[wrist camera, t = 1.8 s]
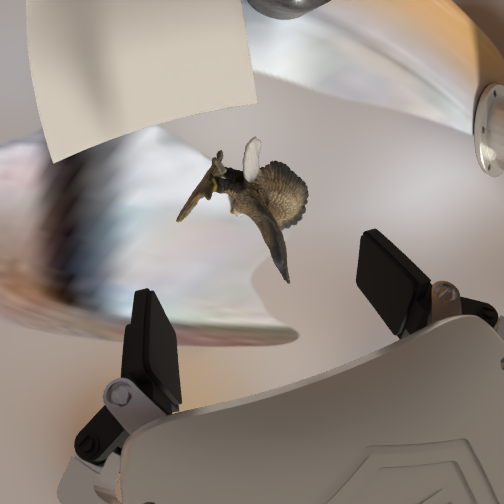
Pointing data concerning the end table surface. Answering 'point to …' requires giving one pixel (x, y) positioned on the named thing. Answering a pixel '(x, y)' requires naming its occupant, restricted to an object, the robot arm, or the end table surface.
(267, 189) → the eagle figurine
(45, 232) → the end table surface
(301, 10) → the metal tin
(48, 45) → the white slab
